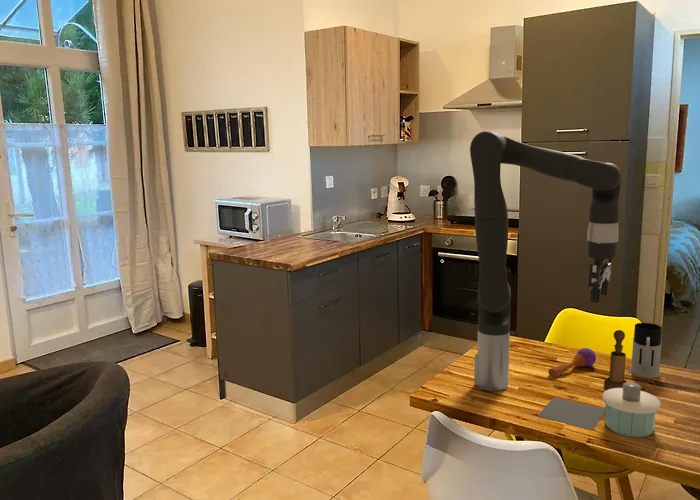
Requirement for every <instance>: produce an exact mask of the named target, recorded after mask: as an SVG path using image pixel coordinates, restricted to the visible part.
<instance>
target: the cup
mask: <svg viewBox="0 0 700 500" xmlns="http://www.w3.org/2000/svg"><path fill="white" fill-rule="evenodd" d="M604 409H605V412H604V422H605V425H606V426H607V428H609V429H610V430H611V431H612V432H615V433H616V434H619V435H622V436H627V437H633V438H645V437H648V436H650V435H652V434H653V433H654V430H655V428H656V427H655V426H656V423H655V422H656V413H657V412H655V413H651V414H633V413H627V412H623V411H619V410H616V409H614V408H612V407H610V406H608V405H607V404H606V403H605V408H604Z"/></svg>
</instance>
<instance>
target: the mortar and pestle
mask: <svg viewBox="0 0 700 500" xmlns="http://www.w3.org/2000/svg"><path fill="white" fill-rule="evenodd" d="M613 338H614V340H615V344H614V350H613V351H611V352H610V363H609V375H608V376H609V377H607V378H605V379H604V382H603V388H604V389H605V391H606V390H609V389H613V388H623V383H626V382H627V381H626V379H625V373H626V372H625V370H626V359H627V358H626V357H627V355H626V353H625V352H623V349H624V345H622V344H623V341H624V340H625V338H626V335H625V332H624V330H621V329H617V330H615V331H614V332H613Z"/></svg>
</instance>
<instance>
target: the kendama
mask: <svg viewBox="0 0 700 500" xmlns="http://www.w3.org/2000/svg"><path fill="white" fill-rule="evenodd" d="M596 361H597V356H596V353H595V352H594V350H592V349H591V348H588V347H582V348H581V349H579V350H577V353H576V354H575V355H574V357H573V360H572V361H571V362H568V363H565V364H561V365H558V366H555V367H550V368H549V369H548V372H547V373H548V375H549V377H553V378H556V379H557V378H559V377H560V376H561V375H563V374H564V373H565V372H567V371H568V370H570V369H571V368H572V367H574V366H575V367H584V368H585V367H586V368H587V367H591V366H593V365H594V364H595V362H596Z"/></svg>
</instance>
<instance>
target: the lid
mask: <svg viewBox="0 0 700 500" xmlns="http://www.w3.org/2000/svg"><path fill="white" fill-rule="evenodd" d="M641 389H642V386H641V385H640V384H638V383H635V382H631V381H630V382H628V381H626V383H623V388H613V389H609V390H606V389H605V391H604V392H603V393H602V401H603V403H604V404H605V405H606V404H607V405H608V406H610V407H612V408H614V409H616V410H619V411H623V412H627V413H633V414H651V413H655V412H656V413H658V412H659V410H660V409H661V401H660V399H659V398H658V397H656V396H655V395H653V394H651V393H649V392H646V391H643V390H641Z"/></svg>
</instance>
